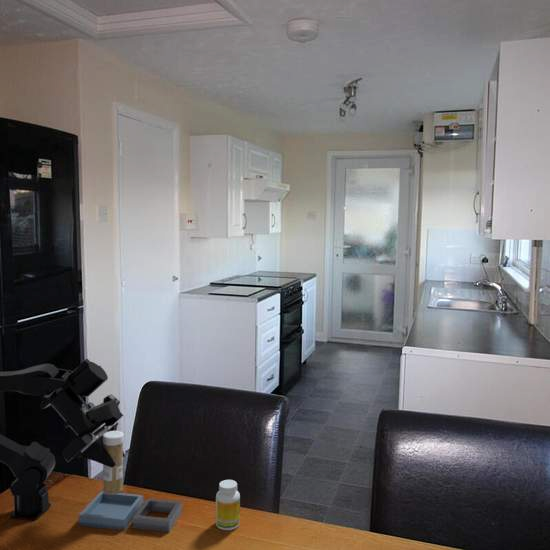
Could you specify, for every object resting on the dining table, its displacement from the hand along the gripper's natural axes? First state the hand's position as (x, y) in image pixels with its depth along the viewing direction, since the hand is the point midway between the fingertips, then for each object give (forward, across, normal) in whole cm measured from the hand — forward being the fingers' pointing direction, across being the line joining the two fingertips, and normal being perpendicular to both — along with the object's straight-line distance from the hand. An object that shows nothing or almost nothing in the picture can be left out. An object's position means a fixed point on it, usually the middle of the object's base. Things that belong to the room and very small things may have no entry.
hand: (118, 461), depth 121 cm
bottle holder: (+16, 0, +2) cm, 16 cm away
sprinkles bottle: (+4, 0, +6) cm, 7 cm away
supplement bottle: (+27, +1, -9) cm, 29 cm away
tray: (+8, 0, +10) cm, 13 cm away
